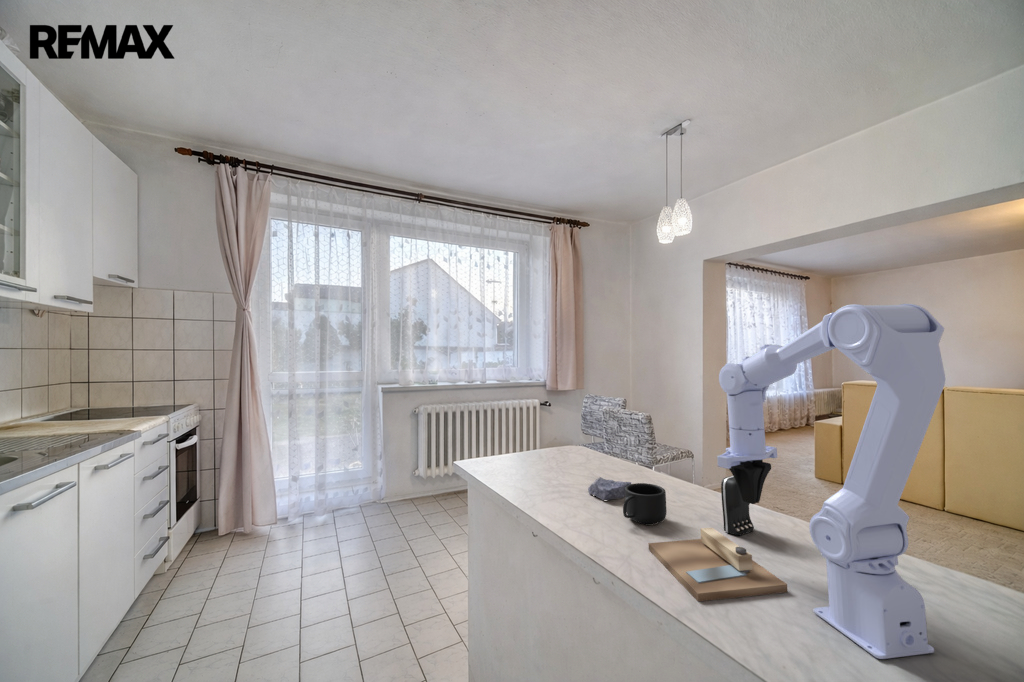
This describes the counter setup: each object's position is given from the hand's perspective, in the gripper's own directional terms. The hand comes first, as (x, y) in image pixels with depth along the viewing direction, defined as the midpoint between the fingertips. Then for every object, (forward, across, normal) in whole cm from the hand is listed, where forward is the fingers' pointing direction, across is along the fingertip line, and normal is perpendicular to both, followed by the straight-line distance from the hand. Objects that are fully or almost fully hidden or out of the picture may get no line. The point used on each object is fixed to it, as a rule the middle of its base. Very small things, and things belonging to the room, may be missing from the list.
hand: (750, 501), depth 73 cm
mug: (+11, +5, -23) cm, 26 cm away
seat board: (+10, +10, -2) cm, 14 cm away
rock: (+11, +1, -41) cm, 42 cm away
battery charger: (+11, -9, -8) cm, 16 cm away
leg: (+9, +6, -2) cm, 11 cm away
